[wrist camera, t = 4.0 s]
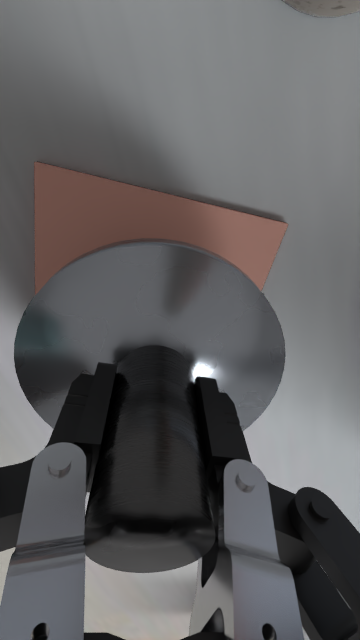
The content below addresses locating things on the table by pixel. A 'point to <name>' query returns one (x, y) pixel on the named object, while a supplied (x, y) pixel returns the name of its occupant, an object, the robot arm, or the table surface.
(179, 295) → the lid
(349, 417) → the table surface
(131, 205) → the mat
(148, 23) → the table surface
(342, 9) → the thermos bottle
